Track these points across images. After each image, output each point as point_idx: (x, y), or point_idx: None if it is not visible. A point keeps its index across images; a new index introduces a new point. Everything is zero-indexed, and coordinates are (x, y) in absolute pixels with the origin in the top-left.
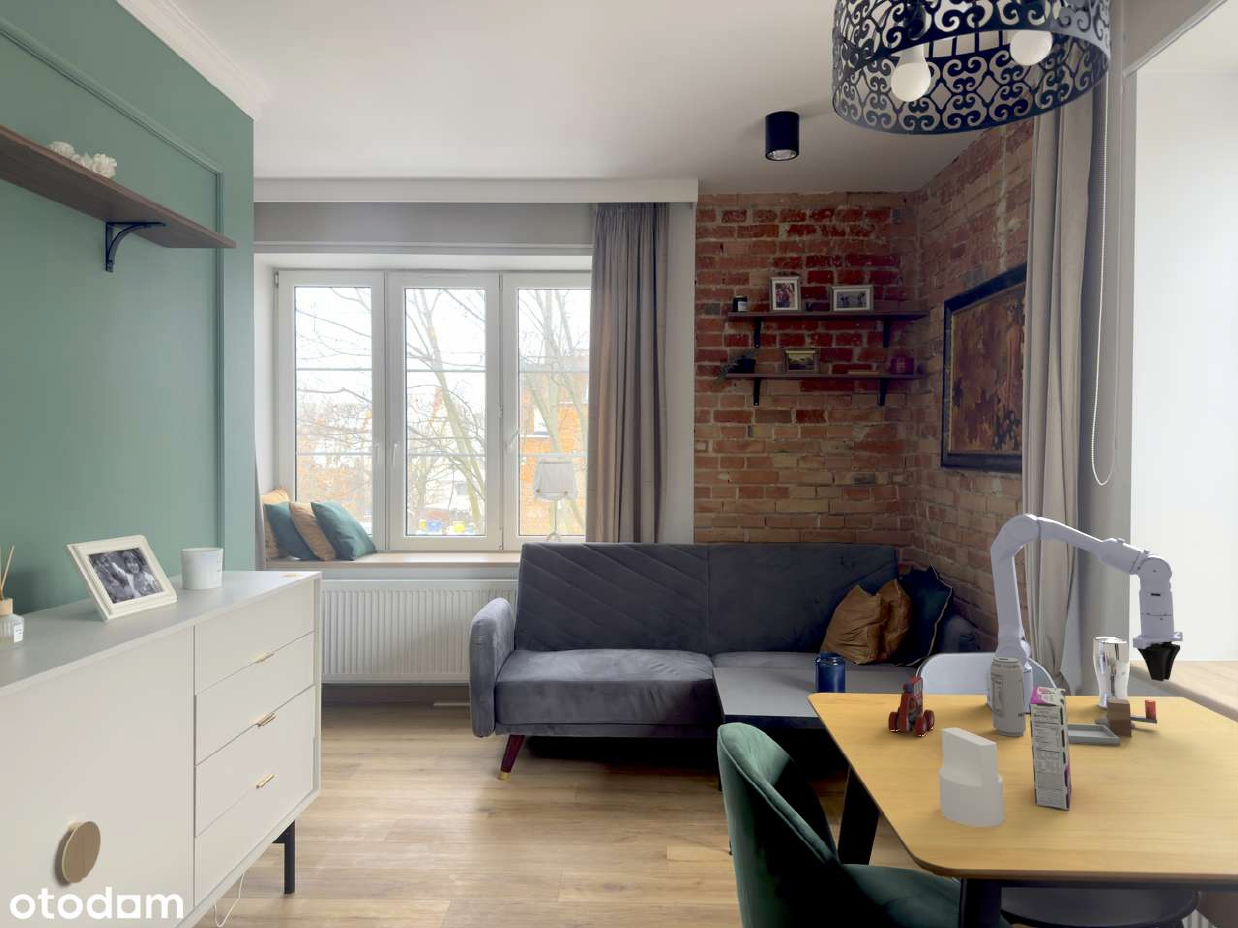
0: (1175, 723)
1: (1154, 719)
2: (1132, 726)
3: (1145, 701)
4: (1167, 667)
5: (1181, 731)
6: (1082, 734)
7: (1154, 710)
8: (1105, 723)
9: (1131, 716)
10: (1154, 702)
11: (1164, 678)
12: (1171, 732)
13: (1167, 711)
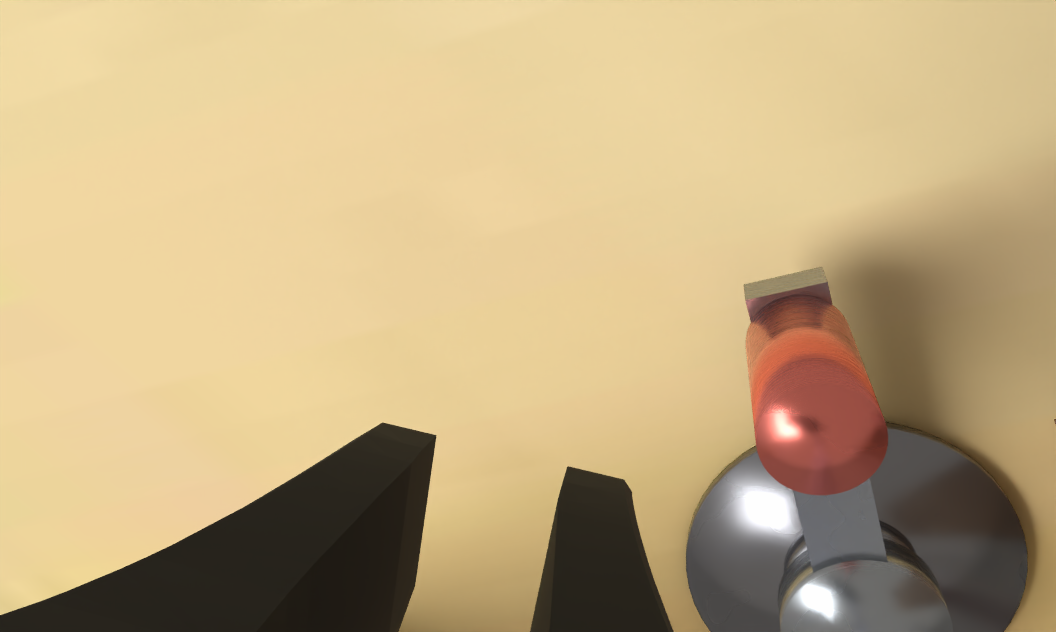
0: (423, 194)
1: (827, 303)
2: (888, 434)
3: (861, 476)
4: (341, 580)
5: (688, 64)
6: None
7: (834, 342)
8: None
9: (861, 495)
10: (841, 384)
11: (428, 489)
12: (801, 124)
13: (79, 353)
